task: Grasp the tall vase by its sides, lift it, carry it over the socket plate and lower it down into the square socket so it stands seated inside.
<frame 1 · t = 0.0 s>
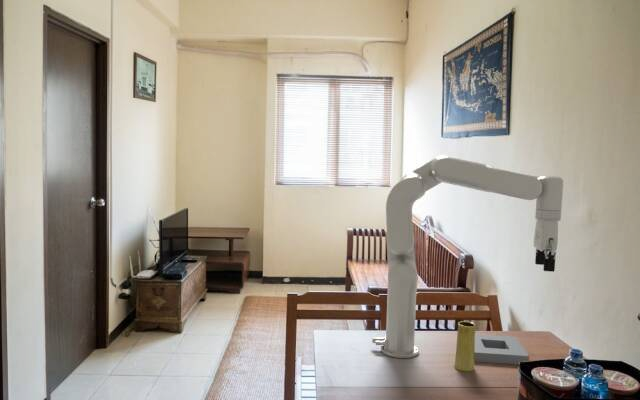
hand: (544, 267, 177), 31 cm above the table, tool pointing down, fingers open, 9 cm apart
vase: (464, 368, 174), on the table
socket plate: (494, 352, 187), on the table
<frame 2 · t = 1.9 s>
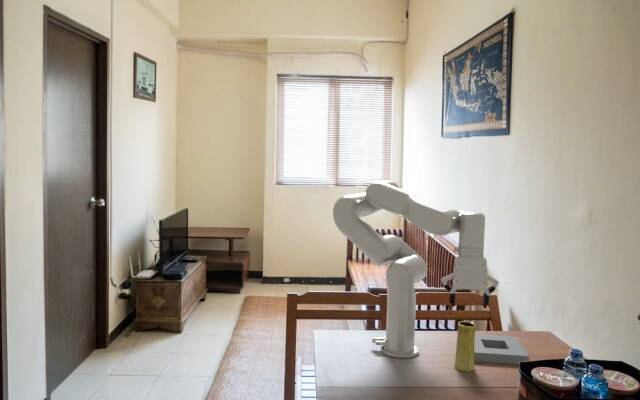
hand: (468, 306, 171), 20 cm above the table, tool pointing down, fingers open, 9 cm apart
nothing on the table moved.
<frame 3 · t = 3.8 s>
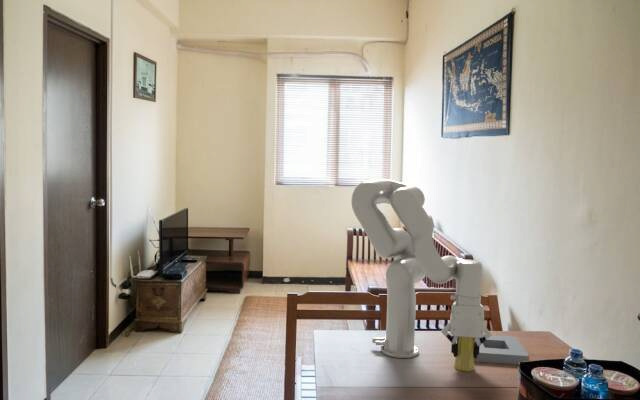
hand: (464, 355, 173), 4 cm above the table, tool pointing down, fingers closed on vase, 5 cm apart
vase: (464, 368, 174), on the table, touching gripper
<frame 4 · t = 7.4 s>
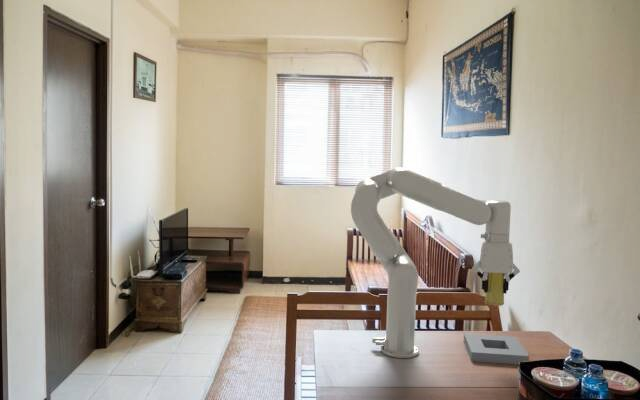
hand: (494, 291, 183), 22 cm above the table, tool pointing down, fingers closed on vase, 5 cm apart
vase: (494, 304, 183), point 18 cm above the table, touching gripper
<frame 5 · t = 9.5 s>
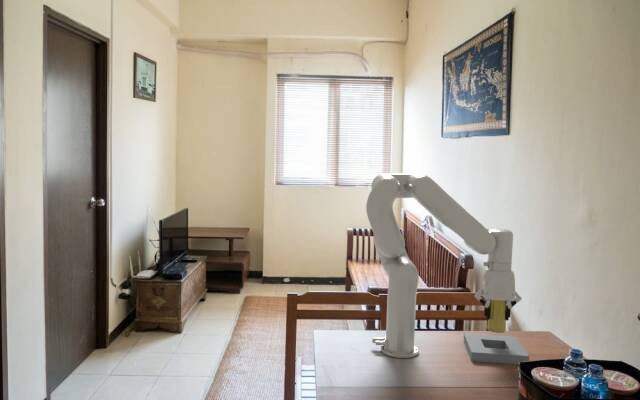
hand: (496, 318, 186), 12 cm above the table, tool pointing down, fingers closed on vase, 5 cm apart
vase: (496, 330, 186), point 8 cm above the table, touching gripper
when the fingers open (5 cm above the table, at t = 11.2 s): vase drops 1 cm, resting in socket plate.
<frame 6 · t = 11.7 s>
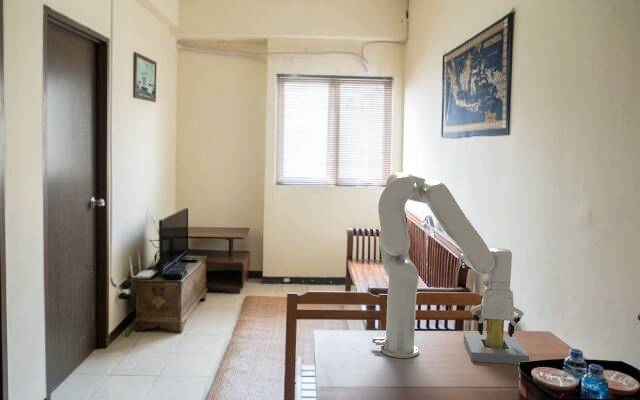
hand: (495, 334, 186), 6 cm above the table, tool pointing down, fingers open, 9 cm apart
vase: (493, 353, 187), resting in socket plate
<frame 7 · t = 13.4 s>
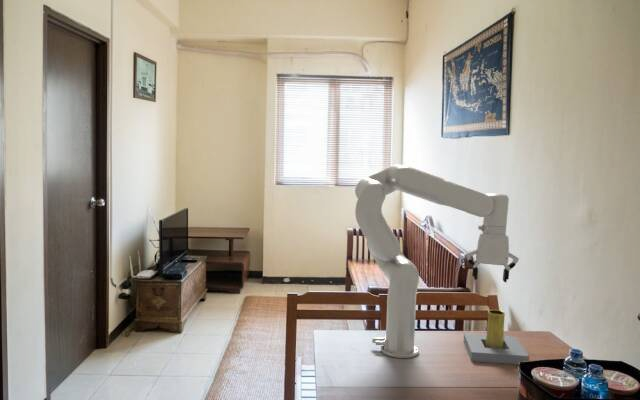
hand: (489, 280, 187), 24 cm above the table, tool pointing down, fingers open, 9 cm apart
nothing on the table moved.
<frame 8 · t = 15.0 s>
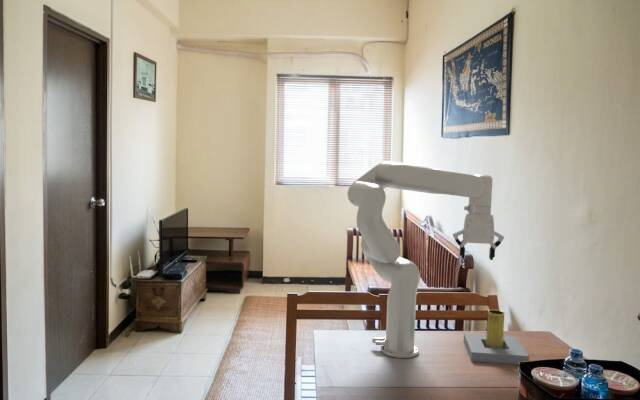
hand: (476, 258, 193), 30 cm above the table, tool pointing down, fingers open, 9 cm apart
nothing on the table moved.
at the end: vase 0.2 cm off-centre on the socket plate, point 0.0 cm above the socket plate's base; vase tilted 0°; the gripper is holding nothing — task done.
